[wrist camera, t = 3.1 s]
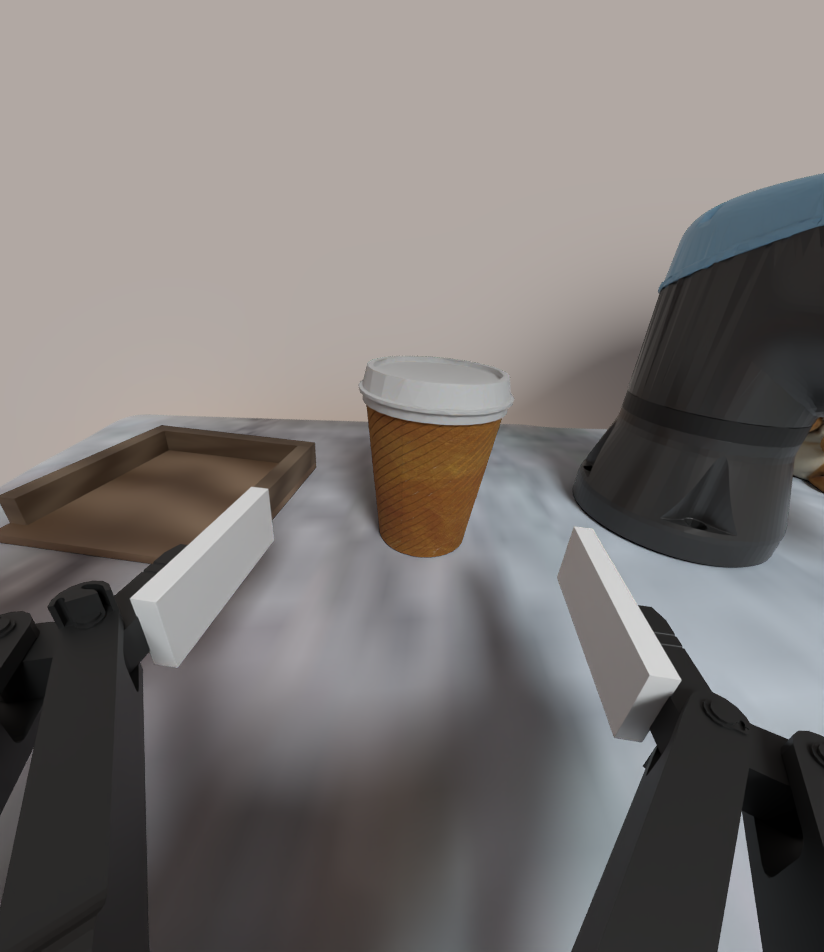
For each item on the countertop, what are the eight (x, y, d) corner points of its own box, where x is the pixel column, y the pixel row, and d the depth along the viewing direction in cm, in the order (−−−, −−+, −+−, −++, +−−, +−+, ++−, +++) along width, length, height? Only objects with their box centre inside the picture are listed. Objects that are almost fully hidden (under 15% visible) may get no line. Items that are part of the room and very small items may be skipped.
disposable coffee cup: (347, 570, 23) (346, 378, 18) (366, 495, 31) (368, 350, 26) (496, 579, 23) (540, 393, 18) (474, 502, 32) (500, 360, 26)
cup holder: (226, 574, 22) (219, 539, 21) (-7, 541, 23) (-27, 506, 22) (316, 467, 36) (314, 442, 34) (167, 449, 37) (161, 425, 35)
